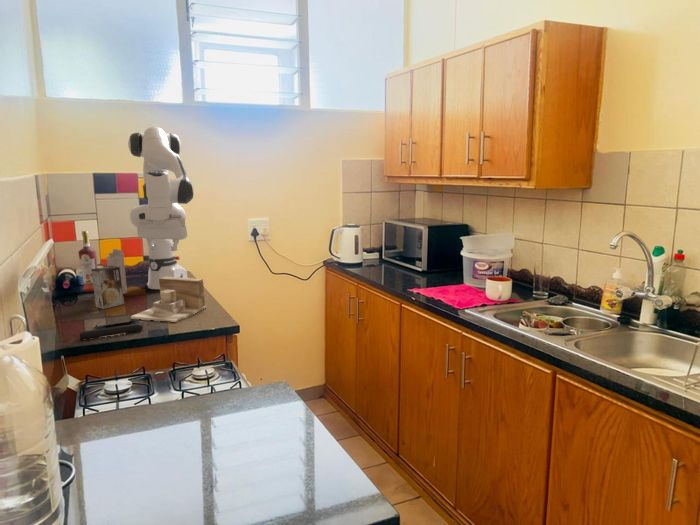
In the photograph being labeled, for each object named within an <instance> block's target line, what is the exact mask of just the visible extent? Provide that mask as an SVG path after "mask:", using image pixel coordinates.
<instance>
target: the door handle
mask: <svg viewBox="0 0 700 525" xmlns="http://www.w3.org/2000/svg"><path fill="white" fill-rule="evenodd" d="M143 328H144V326H143V325H142V323H140V321H139V319H131V320H129V321H126V322H125V321H124V322H118V323H111V324H104V325H103V324H102V322H99V323H96V326H95V329H92V330H91V329H89V330H85V331H81V332H79V340H80V339H89V340H91V339H90V338H95V339H101V338H100V337H105V338H108V337H107V336H111V337H115V336H114V335H118V336H121V335H120V334H124V335H126V333H127V334H132V333H131V332H134V333H138V332H137V331H140V332H142V331H143V330H144V329H143ZM141 330H142V331H141ZM98 337H99V338H98Z"/></svg>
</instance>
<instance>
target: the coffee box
mask: <svg viewBox="0 0 700 525" xmlns="http://www.w3.org/2000/svg"><path fill="white" fill-rule="evenodd" d="M91 271H92V279H93V287H94V292H93V293H94V294H93V295H94V300H95V301H94V302H95V307H96V308H98V309H101V310H105V309H108V308H109V309H111V308H114V307H117V306H122V305H124V304H125V303H124V302H125V301H124V294H123V292H122V283H121V275H120V267H116V266H107V265H106V266H103V267H97V268H96V269H91Z"/></svg>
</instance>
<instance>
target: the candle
mask: <svg viewBox="0 0 700 525" xmlns="http://www.w3.org/2000/svg"><path fill="white" fill-rule="evenodd" d="M107 266H116V267H120V275H121V283H122V292H123V295H124V294H127V293H128V289H127V288H128V287H127V276H126V268H125V255H124V251H123V250H121V249H116V248H113V249H112V252H109V253H108V255H107V256H106V267H107Z"/></svg>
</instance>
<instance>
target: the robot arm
mask: <svg viewBox="0 0 700 525" xmlns="http://www.w3.org/2000/svg"><path fill="white" fill-rule="evenodd" d="M127 146H128V149H129V152H130V154H131V155H132V156H134V157H138V158H141V157H142V158H143V168H142V173H143V176H142V177H143V185H142V189H143V190H142V191H143V192H142V193H143V199H144V200H145V201H147V204H140V205H136V206H133V207H132V208H131V210H130V212H129V220H130V222H131V224H132V225H133V226H134V227H136V231H137V236H138V237H139V238H140V239H145V241H146V245H147V251H148V259H147V260H148V261H147V262H148V266H149V268H148V273H147V274H148V275H147V277H148V278H147V279H148V281H147V283H146V286H147V288H148V289H150V290H160V284H159V279H160V278H163V277H178V278H188V273H187V272H188V271H187V270H186V269H185V268H184V267H183V266H181V265H180V264H179V263H178V261H179V260H180V258H181V257H180V255H174V252H177V251H178V245H179V243H180V241H181V240H185V239H187V238H188V231H187V225H186V220H187V214H186V211H185V209H184V208H183V207H182V206H181V205H180V204H182V205H187V204H188V203H190V202H191V201H192V200H193V199H194V196H195V192H194V186H193V184H192V182H191V180H190V178H189V176H188V174H187V170H186V169H185V166H184V163H183V161H182V159H181V157H180V154H181V153H180V152H181V149H182V142H181V140H180V136H178V135H177V134H176V133H168V132H167V133H166V132H165V131H164V129H162V128H161V127H158V126H149V127H148V128H147V129H146V130H144V132H134V133H131V134H130V136H129V139H128V141H127ZM169 172H172V173H173V174H174V175H175V177H176V178H170V176H169Z"/></svg>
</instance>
